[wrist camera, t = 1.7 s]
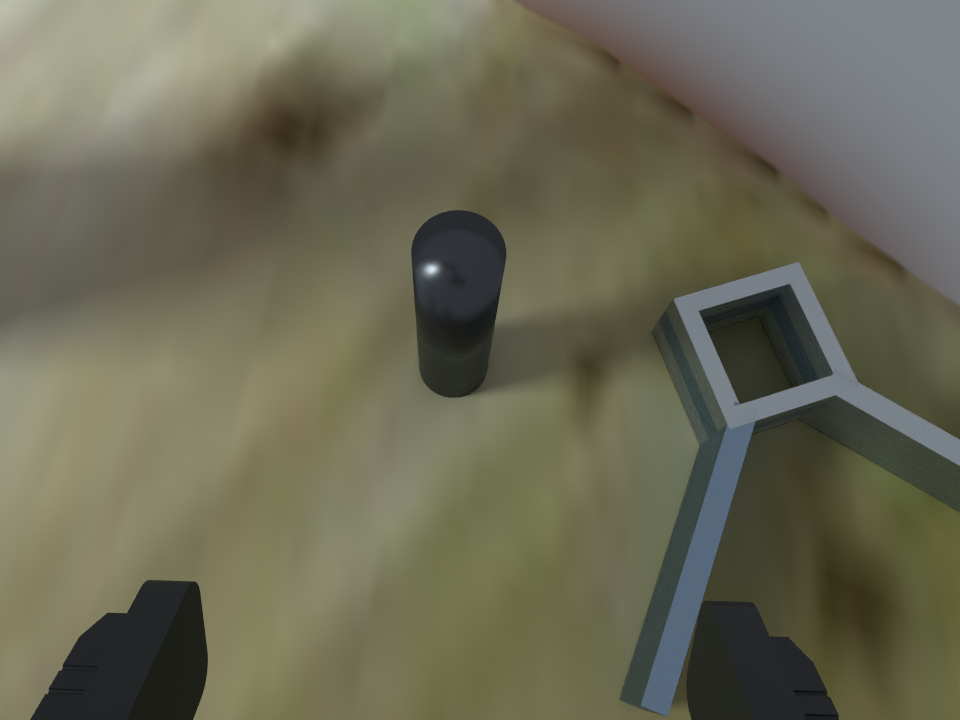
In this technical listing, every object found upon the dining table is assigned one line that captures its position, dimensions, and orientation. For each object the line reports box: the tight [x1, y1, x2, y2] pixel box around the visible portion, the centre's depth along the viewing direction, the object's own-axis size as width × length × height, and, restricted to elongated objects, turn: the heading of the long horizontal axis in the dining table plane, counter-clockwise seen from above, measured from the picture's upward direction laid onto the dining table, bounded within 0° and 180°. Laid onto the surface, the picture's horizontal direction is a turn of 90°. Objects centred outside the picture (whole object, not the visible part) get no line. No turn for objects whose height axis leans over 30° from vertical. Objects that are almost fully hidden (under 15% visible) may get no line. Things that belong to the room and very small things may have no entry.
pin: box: [411, 210, 506, 397], centre depth 31 cm, size 3×3×11 cm
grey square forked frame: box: [620, 262, 960, 717], centre depth 34 cm, size 15×20×4 cm
